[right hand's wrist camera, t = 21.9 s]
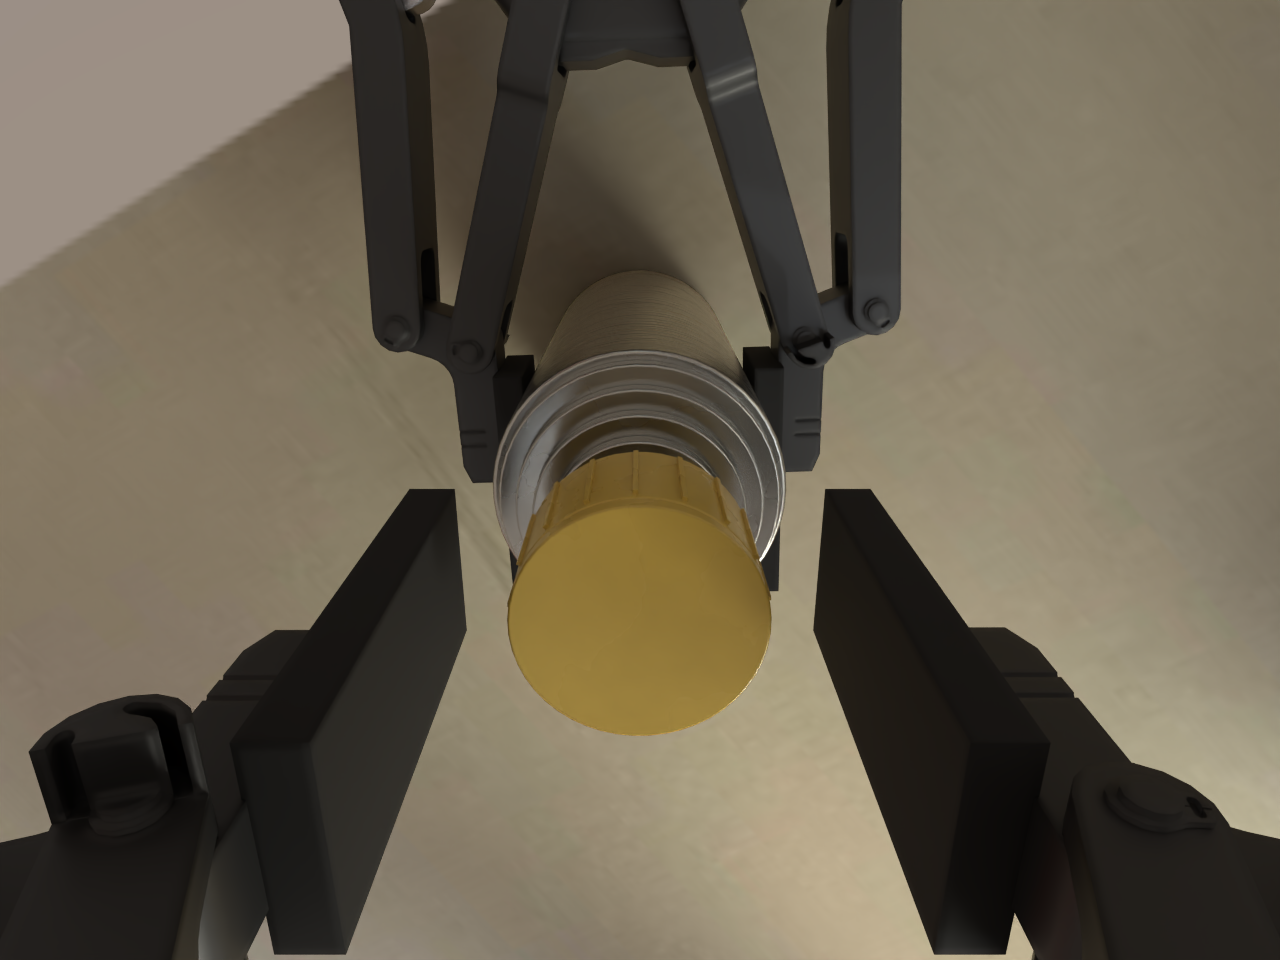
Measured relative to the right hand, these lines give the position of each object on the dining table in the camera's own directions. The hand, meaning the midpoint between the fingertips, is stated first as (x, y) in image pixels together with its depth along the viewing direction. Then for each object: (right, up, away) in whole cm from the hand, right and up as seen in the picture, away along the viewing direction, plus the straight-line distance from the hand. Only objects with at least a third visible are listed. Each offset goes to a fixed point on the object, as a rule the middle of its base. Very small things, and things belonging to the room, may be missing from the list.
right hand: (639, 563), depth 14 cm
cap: (0, -1, -2) cm, 2 cm away
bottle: (0, +6, +15) cm, 16 cm away
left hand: (0, -1, +11) cm, 11 cm away
